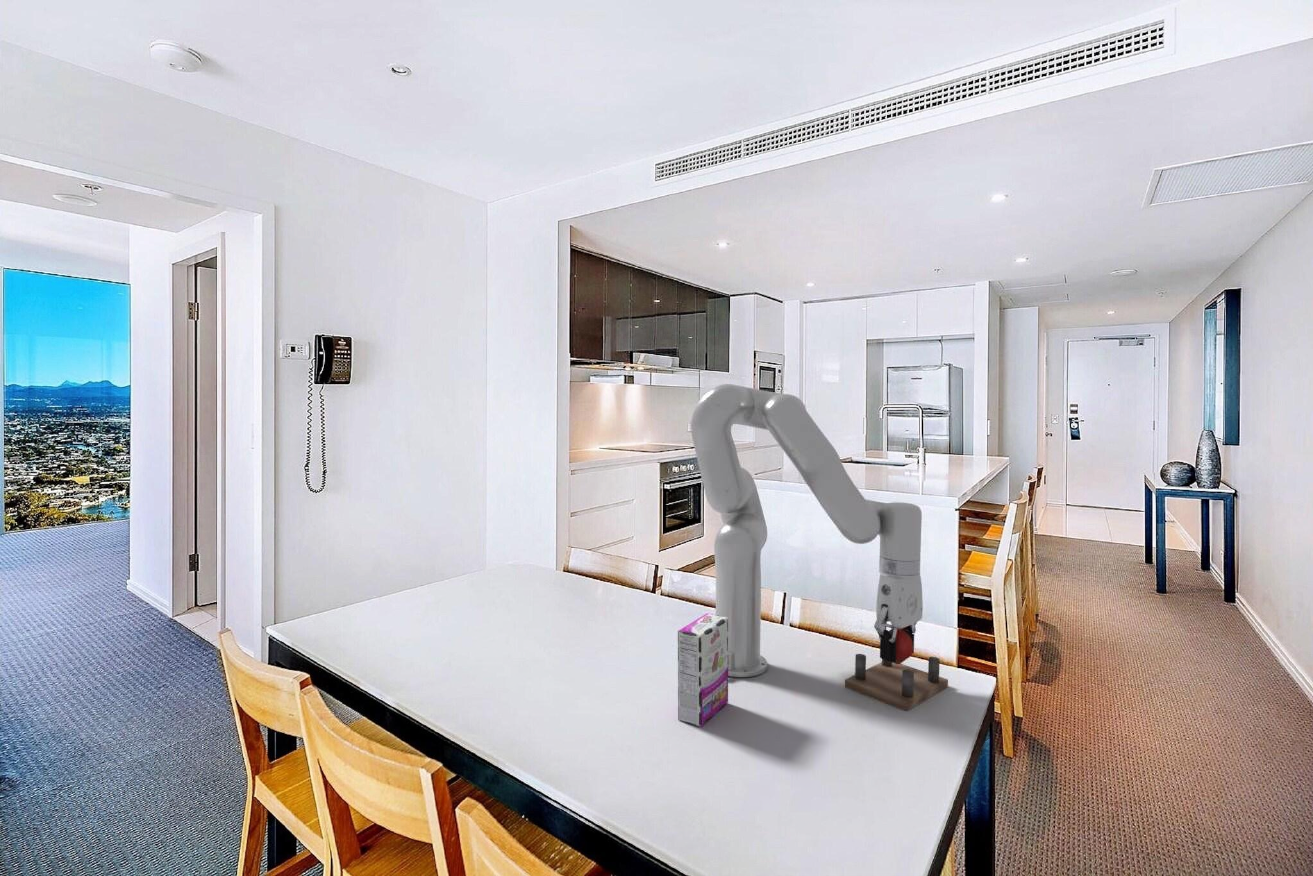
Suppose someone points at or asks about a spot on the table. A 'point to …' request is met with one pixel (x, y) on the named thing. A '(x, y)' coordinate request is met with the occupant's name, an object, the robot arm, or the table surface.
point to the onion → (903, 646)
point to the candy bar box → (702, 669)
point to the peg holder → (896, 682)
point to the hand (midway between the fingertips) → (896, 655)
